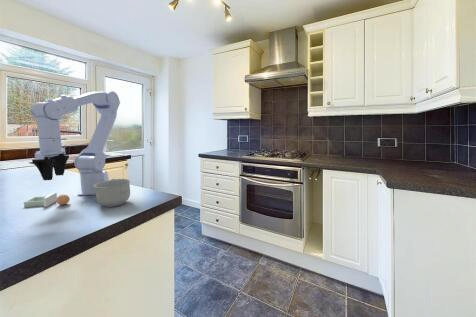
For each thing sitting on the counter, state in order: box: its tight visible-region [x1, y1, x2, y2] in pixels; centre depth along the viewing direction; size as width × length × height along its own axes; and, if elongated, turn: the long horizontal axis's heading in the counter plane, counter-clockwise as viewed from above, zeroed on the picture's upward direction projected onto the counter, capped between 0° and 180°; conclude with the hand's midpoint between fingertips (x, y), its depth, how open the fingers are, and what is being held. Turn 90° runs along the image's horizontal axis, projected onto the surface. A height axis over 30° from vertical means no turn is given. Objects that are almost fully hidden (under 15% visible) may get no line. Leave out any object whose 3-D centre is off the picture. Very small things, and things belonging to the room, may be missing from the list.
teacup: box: [94, 178, 131, 208], centre depth 78 cm, size 14×11×8 cm
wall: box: [43, 192, 58, 208], centre depth 77 cm, size 1×7×3 cm, turn 17°
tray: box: [23, 195, 48, 208], centre depth 77 cm, size 6×6×2 cm
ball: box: [55, 194, 71, 206], centre depth 76 cm, size 4×4×4 cm
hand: (54, 177), depth 75 cm, fingers open, 7 cm apart
